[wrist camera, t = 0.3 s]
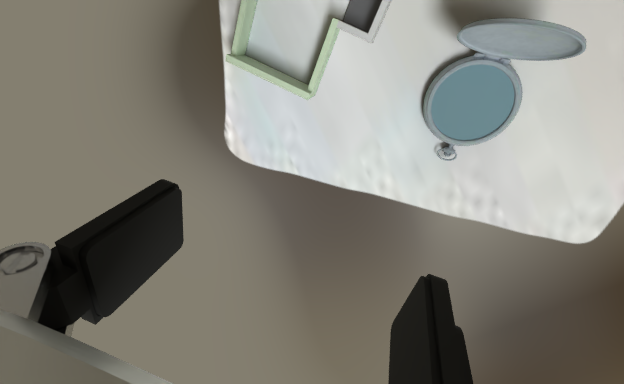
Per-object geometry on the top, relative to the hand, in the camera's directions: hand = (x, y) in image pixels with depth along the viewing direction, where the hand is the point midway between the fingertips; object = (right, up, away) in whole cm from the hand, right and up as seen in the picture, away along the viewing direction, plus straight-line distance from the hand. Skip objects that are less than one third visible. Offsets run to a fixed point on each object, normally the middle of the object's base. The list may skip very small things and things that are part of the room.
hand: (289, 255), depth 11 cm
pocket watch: (+19, +13, +23) cm, 33 cm away
